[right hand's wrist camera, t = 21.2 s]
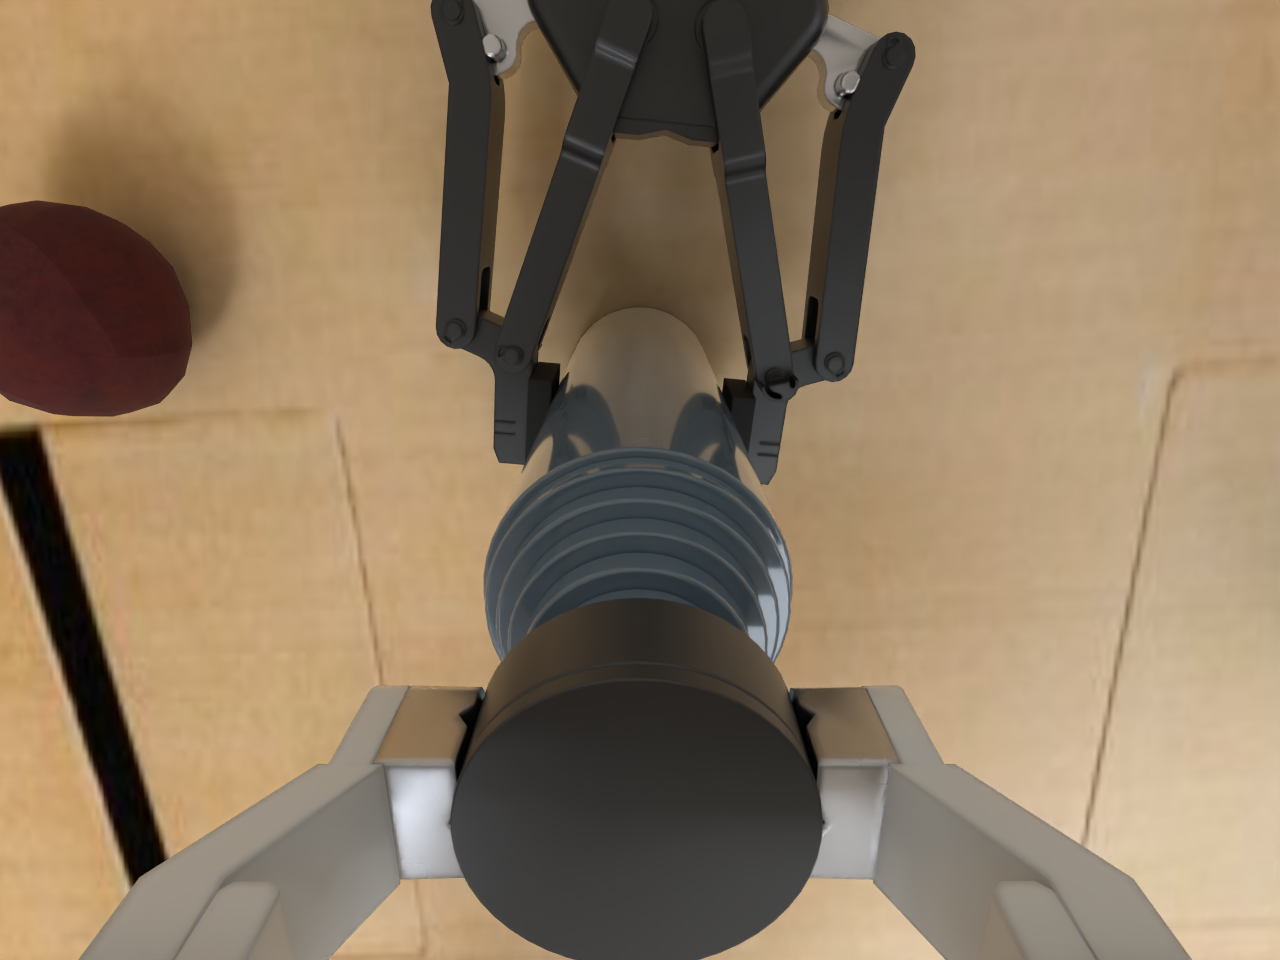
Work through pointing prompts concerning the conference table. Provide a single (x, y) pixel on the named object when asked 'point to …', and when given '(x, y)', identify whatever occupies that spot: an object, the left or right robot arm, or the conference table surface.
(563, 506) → the bottle
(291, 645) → the conference table surface
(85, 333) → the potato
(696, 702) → the cap
